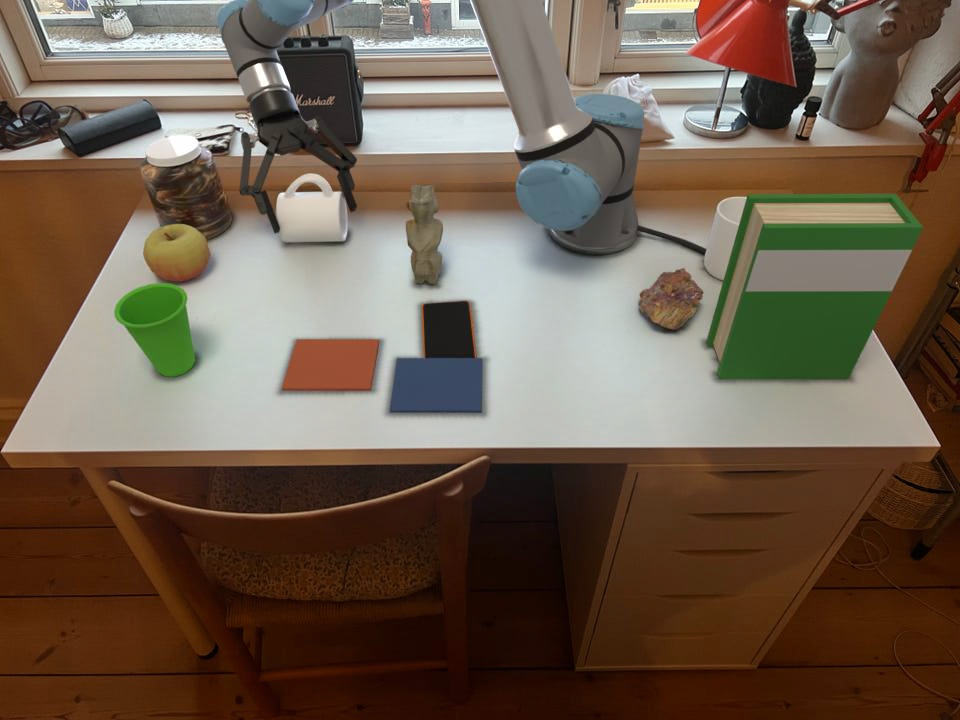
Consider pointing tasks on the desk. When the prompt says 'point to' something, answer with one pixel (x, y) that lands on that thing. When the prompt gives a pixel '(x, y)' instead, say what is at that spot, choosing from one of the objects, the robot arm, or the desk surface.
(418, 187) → the sculpture
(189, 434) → the desk surface
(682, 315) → the mineral specimen
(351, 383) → the terracotta mat
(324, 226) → the mug
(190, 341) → the cup
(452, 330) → the smartphone
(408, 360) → the blue mat
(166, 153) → the jar
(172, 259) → the apple
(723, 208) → the mug
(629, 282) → the desk surface
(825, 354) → the hardback book
